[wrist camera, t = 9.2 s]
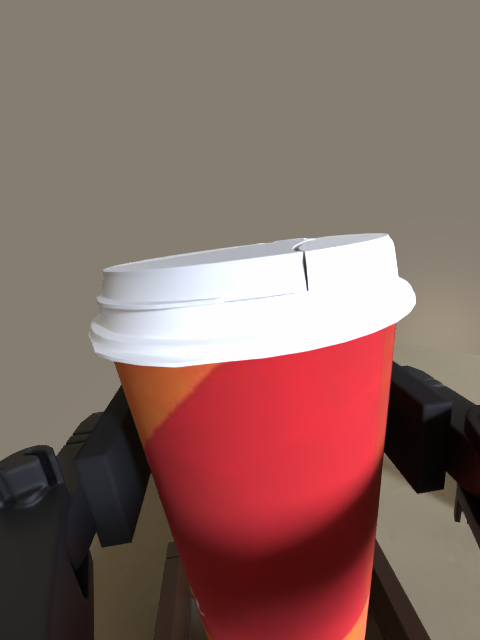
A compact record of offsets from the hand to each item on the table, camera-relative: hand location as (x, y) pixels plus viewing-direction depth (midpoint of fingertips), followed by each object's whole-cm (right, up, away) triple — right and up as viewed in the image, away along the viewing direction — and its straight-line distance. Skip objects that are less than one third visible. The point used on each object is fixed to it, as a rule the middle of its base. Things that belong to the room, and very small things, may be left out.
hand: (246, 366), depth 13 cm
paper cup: (+1, -10, -2) cm, 10 cm away
